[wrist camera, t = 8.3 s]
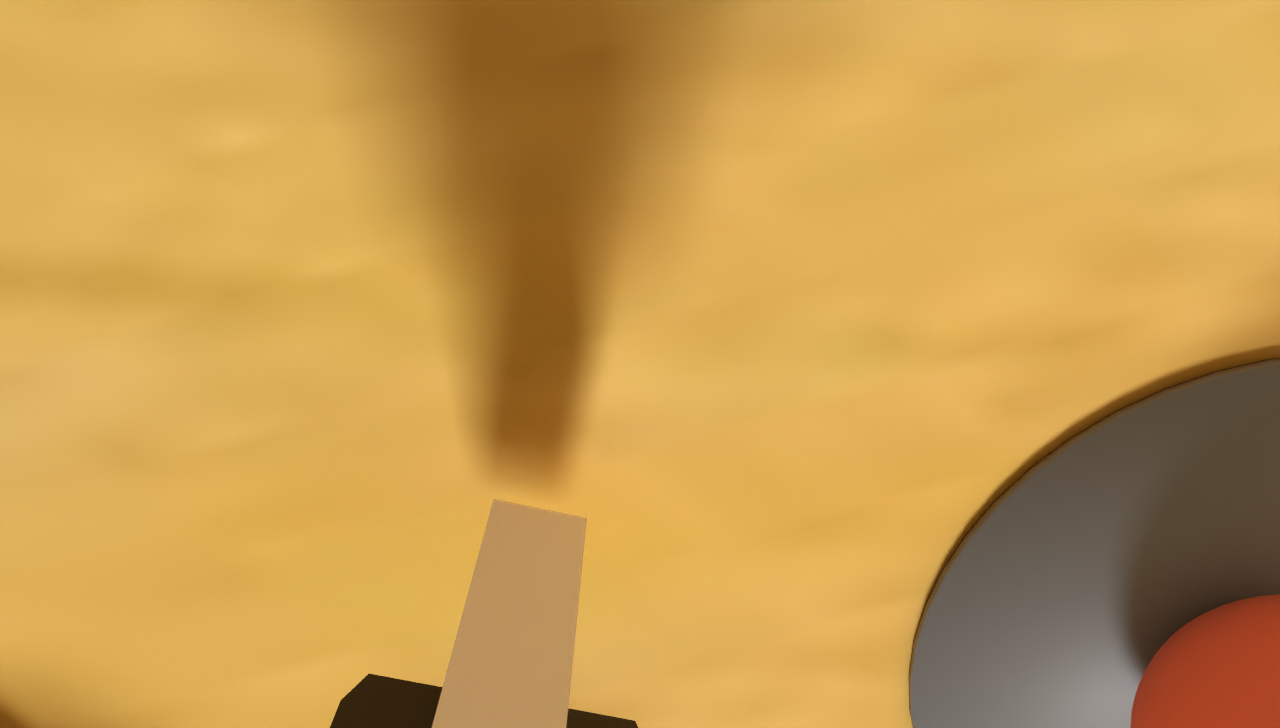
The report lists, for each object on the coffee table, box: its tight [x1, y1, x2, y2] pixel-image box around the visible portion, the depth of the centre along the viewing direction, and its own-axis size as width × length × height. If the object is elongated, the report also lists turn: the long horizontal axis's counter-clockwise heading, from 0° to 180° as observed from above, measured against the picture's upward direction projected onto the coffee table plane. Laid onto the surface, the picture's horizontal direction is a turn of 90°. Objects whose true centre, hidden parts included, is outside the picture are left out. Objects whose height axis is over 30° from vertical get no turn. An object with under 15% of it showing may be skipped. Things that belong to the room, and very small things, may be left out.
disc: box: [909, 359, 1280, 728], centre depth 18 cm, size 13×13×1 cm
